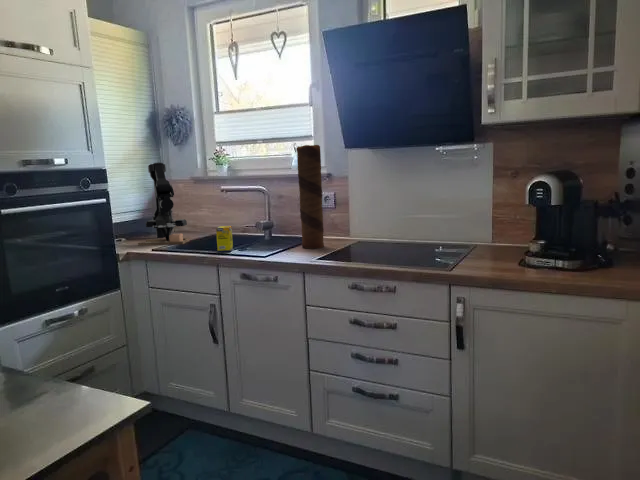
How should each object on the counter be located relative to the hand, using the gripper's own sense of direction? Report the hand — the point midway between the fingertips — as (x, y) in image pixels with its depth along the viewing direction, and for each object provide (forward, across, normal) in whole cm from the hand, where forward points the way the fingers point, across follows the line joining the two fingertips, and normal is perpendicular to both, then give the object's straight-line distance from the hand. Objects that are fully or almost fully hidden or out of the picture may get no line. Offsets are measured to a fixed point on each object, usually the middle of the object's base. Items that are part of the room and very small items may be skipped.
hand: (167, 240), depth 255 cm
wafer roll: (+2, +73, -18) cm, 76 cm away
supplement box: (+2, +34, -23) cm, 41 cm away
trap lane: (+2, -2, 0) cm, 3 cm away
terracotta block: (+1, +4, 0) cm, 4 cm away
